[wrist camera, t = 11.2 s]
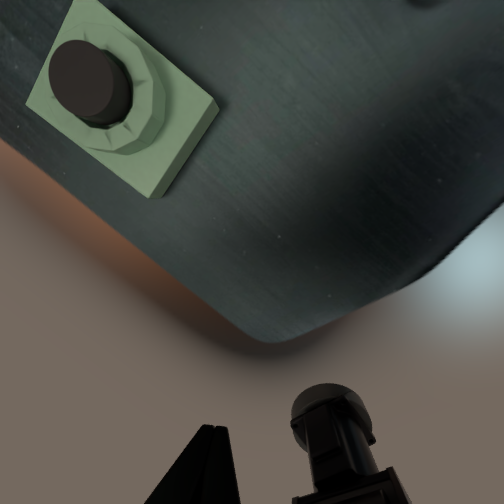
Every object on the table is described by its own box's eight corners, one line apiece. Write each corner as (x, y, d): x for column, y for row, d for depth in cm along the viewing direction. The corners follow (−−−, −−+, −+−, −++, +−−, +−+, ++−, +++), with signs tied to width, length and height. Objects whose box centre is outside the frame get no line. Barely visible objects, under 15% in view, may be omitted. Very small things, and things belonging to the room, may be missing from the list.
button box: (220, 110, 18) (206, 85, 14) (161, 198, 19) (134, 199, 15) (103, 12, 17) (53, -44, 13) (52, 114, 18) (-5, 93, 14)
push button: (143, 85, 14) (126, 70, 12) (113, 138, 15) (93, 131, 13) (91, 43, 14) (66, 21, 12) (63, 99, 15) (36, 86, 13)
